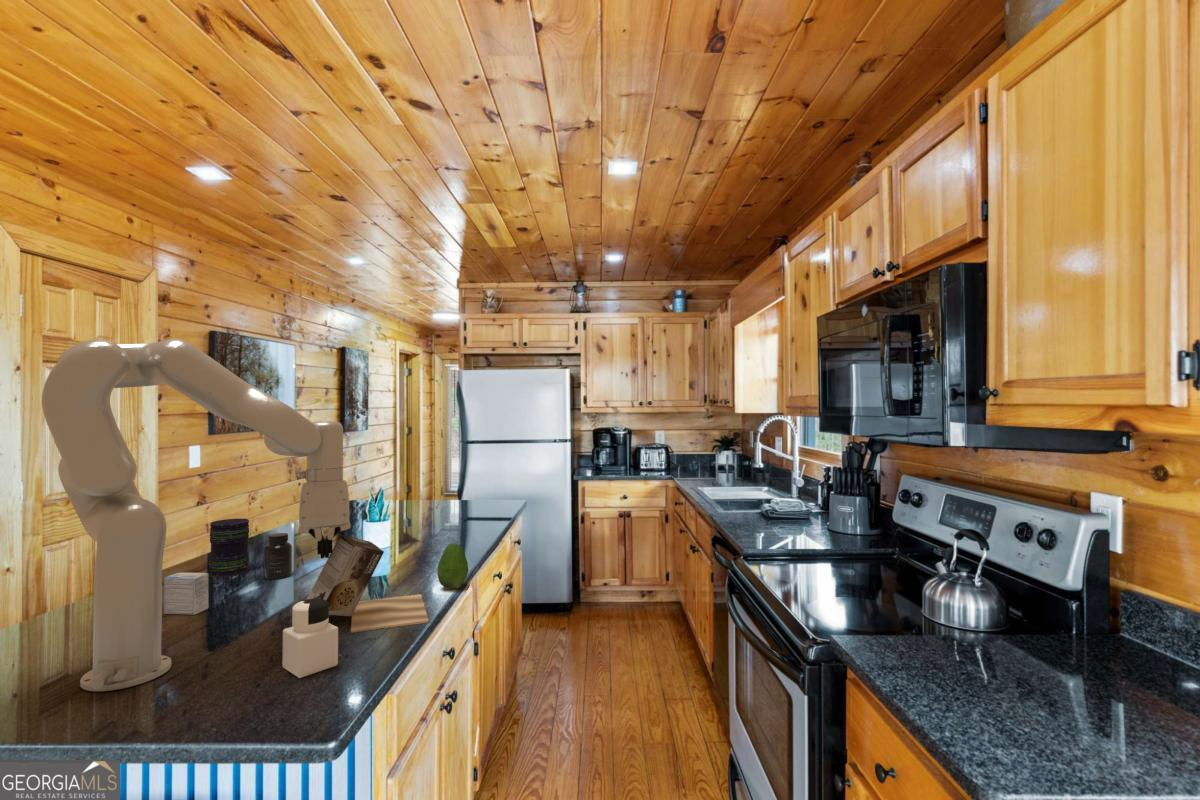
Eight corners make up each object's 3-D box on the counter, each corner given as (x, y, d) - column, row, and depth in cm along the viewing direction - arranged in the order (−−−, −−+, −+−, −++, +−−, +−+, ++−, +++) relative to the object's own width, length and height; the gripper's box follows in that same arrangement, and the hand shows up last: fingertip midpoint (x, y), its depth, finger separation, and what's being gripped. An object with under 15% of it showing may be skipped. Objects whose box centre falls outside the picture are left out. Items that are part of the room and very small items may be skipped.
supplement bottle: (265, 574, 168) (266, 533, 168) (292, 572, 170) (292, 531, 171) (263, 581, 161) (263, 537, 162) (291, 578, 164) (291, 535, 164)
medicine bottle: (320, 655, 112) (321, 593, 112) (338, 665, 108) (339, 600, 108) (281, 667, 107) (282, 602, 107) (298, 679, 102) (299, 610, 102)
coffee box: (336, 605, 136) (370, 540, 140) (351, 617, 133) (386, 551, 136) (303, 601, 129) (339, 533, 132) (318, 614, 125) (356, 544, 129)
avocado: (460, 593, 150) (461, 547, 150) (432, 591, 151) (432, 545, 152) (472, 584, 158) (472, 540, 158) (445, 583, 159) (445, 539, 160)
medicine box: (209, 609, 139) (209, 572, 139) (194, 615, 134) (194, 578, 134) (178, 608, 139) (179, 571, 140) (163, 614, 135) (163, 577, 135)
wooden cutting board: (428, 622, 129) (428, 620, 129) (350, 632, 123) (350, 630, 123) (421, 596, 148) (421, 594, 148) (353, 603, 142) (353, 601, 142)
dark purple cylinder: (215, 569, 173) (216, 519, 174) (252, 566, 176) (253, 517, 177) (203, 578, 164) (204, 525, 164) (243, 575, 167) (244, 523, 167)
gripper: (285, 479, 125) (285, 564, 125) (360, 475, 131) (360, 557, 130) (289, 475, 132) (289, 556, 132) (360, 472, 138) (360, 550, 137)
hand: (324, 556), depth 131 cm, fingers closed
